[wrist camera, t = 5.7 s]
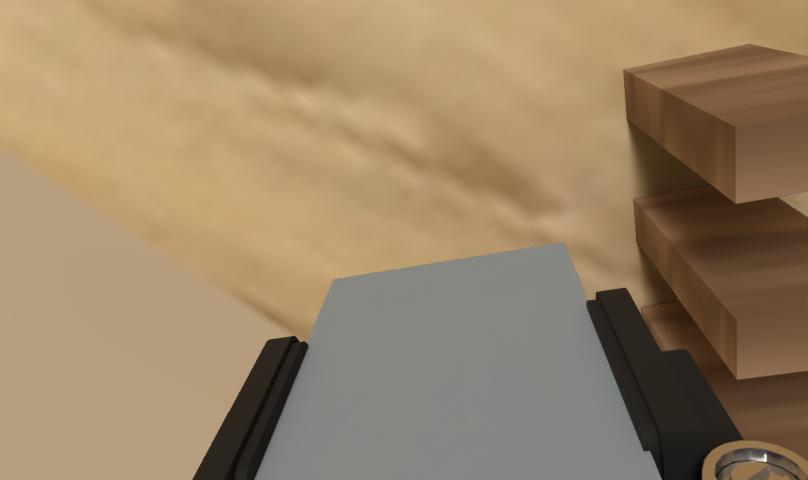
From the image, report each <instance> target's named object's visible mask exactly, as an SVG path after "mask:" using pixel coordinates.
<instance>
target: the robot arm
mask: <svg viewBox="0 0 808 480" xmlns="http://www.w3.org/2000/svg"><path fill="white" fill-rule="evenodd" d="M586 307H587V310H588V312H589V315H590V317H591V320H592V322H593V325H594V327H595V330H596V333H597V335H598V338H599V340H600V343H601V345H602V348H603V350H604V353H605V355H606V358H607V360H608V363H609V365H610V368H611V370H612V373H613V375H614V378H615V380H616V383H617V385H618V388H619V390H620V393H621V396H622V398H623V401H624V403H625V406H626V408H627V411H628V413H629V416H630V418H631V421H632V423H633V426H634V428H635V431H636V433H637V436H638V438H639V441H640V443H641V446H642V448H643V451H644V452H645V451H650V452H651V455H652V457H653V459H654V462H655V464H656V467H657V469H658V472H659V474H660V477H661V479H662V480H808V461H807V460H805V459H803V458H802V457H800V456H799V455H797V454H796V453H794V452H793V451H790V450H788V449H785V448H783V447H780V446H778V445H775V444H770V443H765V442H760V441H744V439H743V437H742V436H741V434H740V433H739V431H738V429H737V428H736V426H735V425H734V423H733V421H732V420H731V418H730V417H729V415H728V413H727V412H726V410H725V409H724V407H723V405H722V404H721V402H720V401H719V399H718V398H717V396H716V394H715V393H714V391H713V390H712V388H711V386H710V385H709V383H708V382H707V380H706V378H705V377H704V375H703V374H702V372H701V370H700V369H699V367H698V366H697V364H696V362H695V361H694V359H693V358H692V356H691V355H690V353H689V352H688V351H687V350H686V349H684V348H683V349H675V350H668V351H661V350H660V348H659V346H658V344H657V342H656V341H655V339H654V337H653V335H652V333H651V332H650V330H649V328H648V326H647V324H646V323H645V321H644V319H643V317H642V315H641V314H640V312H639V310H638V308H637V306H636V305H635V303H634V301H633V299H632V297H631V295H630V294H629V292H628V290H627V289H626V288H620V289H613V290H606V291H599V292H596V300H589V301H586ZM307 350H308V344H307V343H306V342H305V341H303V342H299V340H298V338H297V337H295V336H290V337H284V338H278V339H270V340H268V341H267V342H266V344H265V346H264V348H263V349H262V351H261V353H260V355H259V357H258V359H257V361H256V363H255V364H254V366H253V368H252V370H251V372H250V374H249V376H248V378H247V379H246V381H245V383H244V385H243V387H242V389H241V391H240V392H239V395H238V396H237V398H236V400H235V402H234V404H233V406H232V407H231V409H230V411H229V412H228V414H227V416H226V418H225V420H224V421H223V423H222V425H221V427H220V429H219V431H218V433H217V435H216V437H215V438H214V440H213V442H212V444H211V446H210V448H209V450H208V451H207V453H206V455H205V457H204V459H203V461H202V463H201V464H200V466H199V468H198V470H197V472H196V474H195V476H194V478H193V480H254V479H255V477H256V474H257V472H258V469H259V467H260V465H261V462H262V460H263V457H264V455H265V452H266V450H267V447H268V445H269V442H270V440H271V438H272V435H273V433H274V430H275V428H276V425H277V423H278V420H279V418H280V416H281V413H282V411H283V408H284V406H285V403H286V401H287V398H288V396H289V394H290V391H291V389H292V386H293V384H294V381H295V379H296V376H297V374H298V372H299V369H300V367H301V364H302V362H303V359H304V357H305V354H306V352H307Z"/></svg>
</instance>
